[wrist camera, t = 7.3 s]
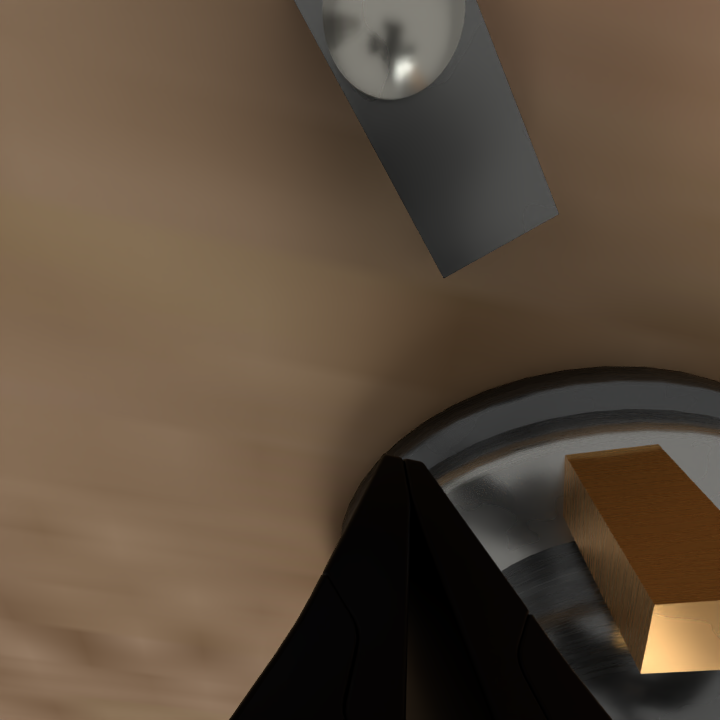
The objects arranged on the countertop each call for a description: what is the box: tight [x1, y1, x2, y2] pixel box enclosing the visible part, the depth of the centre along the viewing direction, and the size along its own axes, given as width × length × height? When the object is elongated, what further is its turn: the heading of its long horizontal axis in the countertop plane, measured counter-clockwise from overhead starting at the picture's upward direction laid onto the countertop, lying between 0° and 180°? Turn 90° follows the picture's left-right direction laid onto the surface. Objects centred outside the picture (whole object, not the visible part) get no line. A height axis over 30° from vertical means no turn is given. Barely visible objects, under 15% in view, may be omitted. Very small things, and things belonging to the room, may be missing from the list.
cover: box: [501, 541, 720, 720], centre depth 11 cm, size 9×9×3 cm
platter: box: [429, 409, 720, 674], centre depth 12 cm, size 15×15×5 cm
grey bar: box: [294, 0, 559, 278], centre depth 8 cm, size 6×2×2 cm, turn 32°
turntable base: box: [341, 367, 720, 536], centre depth 14 cm, size 16×16×1 cm
